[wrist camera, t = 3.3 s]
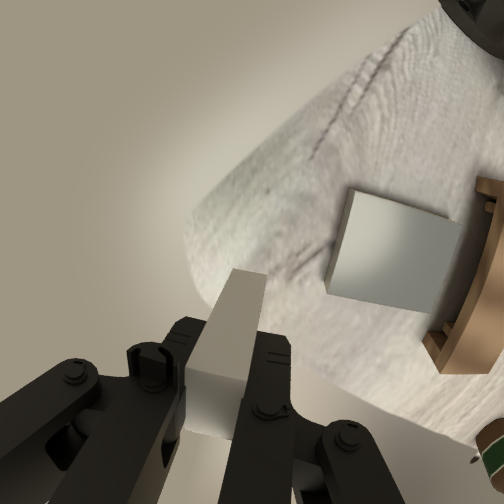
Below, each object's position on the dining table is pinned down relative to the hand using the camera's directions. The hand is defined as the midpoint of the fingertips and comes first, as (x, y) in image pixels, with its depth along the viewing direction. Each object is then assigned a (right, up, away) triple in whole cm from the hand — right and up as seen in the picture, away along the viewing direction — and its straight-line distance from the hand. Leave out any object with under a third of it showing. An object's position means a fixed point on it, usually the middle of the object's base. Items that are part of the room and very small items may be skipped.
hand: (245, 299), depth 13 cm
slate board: (+13, +2, +12) cm, 18 cm away
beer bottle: (+47, -33, +19) cm, 60 cm away
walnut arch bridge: (+25, 0, +11) cm, 27 cm away
